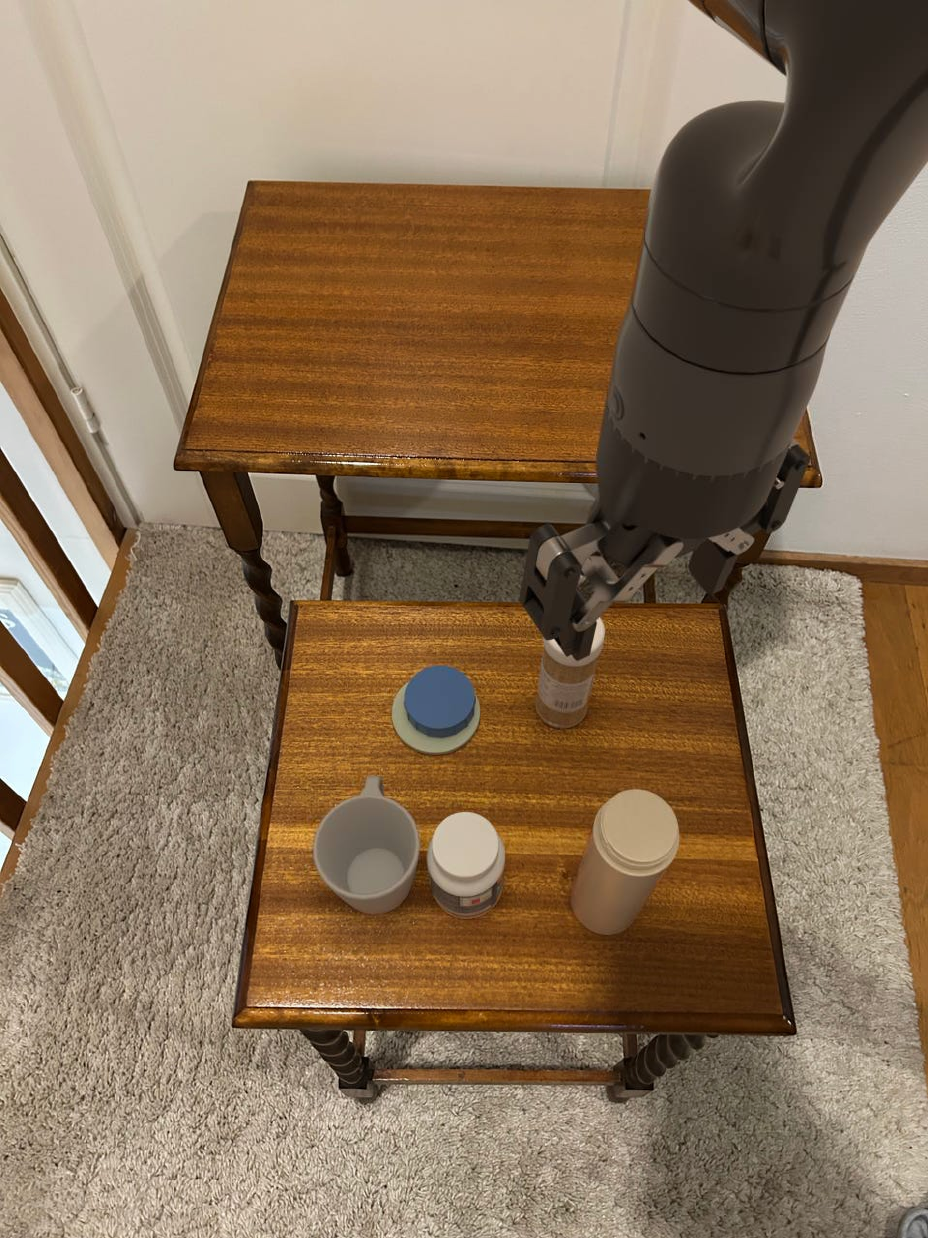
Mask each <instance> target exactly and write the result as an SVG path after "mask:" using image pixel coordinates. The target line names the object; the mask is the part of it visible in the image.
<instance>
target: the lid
mask: <svg viewBox="0 0 928 1238" xmlns="http://www.w3.org/2000/svg"><path fill="white" fill-rule="evenodd" d="M408 682H409V683H408V685H407V687H406V690H405V696H404V698H405V701H404V706H405V708H406V713H407V718H408V720H409V721H410V723H411V724H412V725H413V726H414V728H415V729H416V730H418V731H419V732H421V733H423V734H425V735H427V736H428V737H429V736H430V737H436V738H443V737H449V736H452V735H456V734H457V733H459V732H460V731H462V730H463V729H464V728H465V727H467V725H468V724H469V723H470V721H471V719H472V717H473V716H474V710H475V704H476V696H477V695H476V696H475V694H476V693H475V687H474V685H473V684H472V681H471V680H470V678H469V677H468V676H467V674H465V673H464V672H463V671H461V670H459V669H457V668H455V667H452V666H449V665H432V666H429V667H426V668H424V669H421V670H420V671H418V672H417V673H415V674H414V675H413V676H412V678H410V680H409V681H408Z"/></svg>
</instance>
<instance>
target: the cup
mask: <svg viewBox="0 0 928 1238" xmlns="http://www.w3.org/2000/svg"><path fill="white" fill-rule="evenodd" d="M383 782H384V781H383V779H382V777H381V775H367V776H366V779H365V783H364V787H363V789H362V791H360V794H358V795H355V796H352V797H350V798H347V799H345V800H342V801H341V802H339V803H338V804H336V805H335V806H334V807H332V808H331V809H330V810H329V811H328V812H327V814H326V815H325V816H323V818H322V819H321V821H320V822H319V825H318V827H317V828H316V831H315V835H314V839H313V843H312V852H313V853H312V857H313V858H312V859H313V862H314V865H315V869H316V871H317V873H318V875H319V876H320V878H321V879H322V881H323V882H324V884H325V885H326V886H327V887H328V888H329V889H330V890H331V891H332V892H334V893H335V895H336V896H338V897H339V898H340V899H342V901H344V903H346V904H347V905H349V906H351V907H352V908H353V909H355V910H356V911H358V912H360V913H363V914H367V915H372V916H373V915H375V916H376V915H383V914H387V913H390V912H391V911H393V910H395V909H396V908H397V907H399V906H400V905H401V904H402V903H403V902H404V901H405V899H407V897H408V896H409V893H410V890H411V888H412V886H413V883H414V881H415V877H416V873H417V867H418V863H419V857H420V850H421V841H420V840H421V839H420V838H421V837H420V831H419V829H418V826H417V824H416V821H415V819H414V817H413V816H412V815H411V813H409V810H407V809H406V808H405V807H404V806H402V804H400V803H399V802H398V801H396V800H393V799H391V798H389V797H387V796H385V788H384V783H383Z"/></svg>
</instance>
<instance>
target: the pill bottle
mask: <svg viewBox="0 0 928 1238" xmlns="http://www.w3.org/2000/svg"><path fill="white" fill-rule="evenodd" d="M426 866H427V873H428V877H429V878H428V879H429V886H430V889H431V893H432V896H433V898H434V900H435V902H436V904H438V906H439V907H440V908H441V910H443V911H444V913H447V914H448V915H450V916H452V917H455V918H458V919H464V920H467V919H468V920H469V919H476V918H479V917H481V916H484V915H485V914H487V913H489V912H490V911H491V910H492V909H493V908H494V907H495V906H496V905H497V903H498V902H499V900H500V898H501V896H502V893H503V888H504V881H505V868H506V867H505V866H506V850H505V845H504V842H503V840H502V838H501V836H500V835H499V833H498V832H497V830H496V828H495V827H494V825H493V824H492V823H491V822H490V821H489V820H488V819H487V818H485V817H484V816H482V815H480V814H479V813H475V812H472V811H461V812H455V813H452V814H451V815H448V816H447V817H445V818H444V819H443V820H442V821H440V823H439V824H438V825H437V827H436V828H435V830H434V832H433V835H432V838H431V839H430V842H429V844H428V847H427V851H426Z"/></svg>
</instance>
